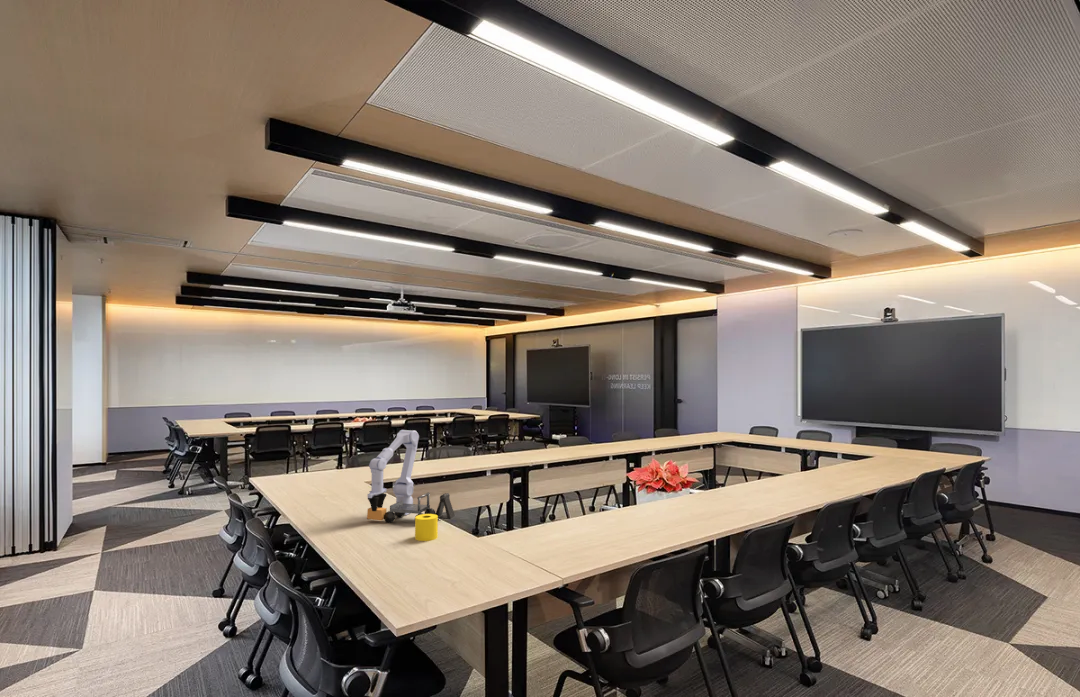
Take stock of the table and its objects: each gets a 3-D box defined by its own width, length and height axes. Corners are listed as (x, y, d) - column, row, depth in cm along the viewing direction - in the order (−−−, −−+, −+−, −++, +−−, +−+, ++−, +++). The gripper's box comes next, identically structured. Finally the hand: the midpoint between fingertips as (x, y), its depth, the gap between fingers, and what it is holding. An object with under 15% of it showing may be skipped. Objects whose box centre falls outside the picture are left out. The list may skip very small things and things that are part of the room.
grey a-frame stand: (454, 516, 284) (455, 493, 284) (450, 519, 278) (450, 495, 278) (438, 515, 286) (438, 492, 286) (434, 518, 280) (434, 494, 280)
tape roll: (417, 542, 240) (417, 520, 240) (413, 536, 249) (413, 515, 249) (439, 539, 244) (440, 518, 244) (434, 533, 253) (434, 513, 253)
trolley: (395, 516, 283) (396, 490, 284) (435, 519, 278) (435, 492, 278) (383, 522, 272) (384, 495, 272) (424, 525, 266) (425, 497, 267)
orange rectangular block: (372, 516, 277) (372, 506, 277) (386, 518, 275) (386, 508, 275) (367, 518, 272) (367, 508, 273) (381, 520, 270) (381, 510, 271)
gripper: (378, 479, 282) (377, 505, 282) (362, 484, 268) (361, 512, 268) (390, 480, 281) (389, 506, 280) (374, 485, 267) (374, 513, 266)
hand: (377, 509), depth 274 cm, fingers closed on orange rectangular block, 4 cm apart
